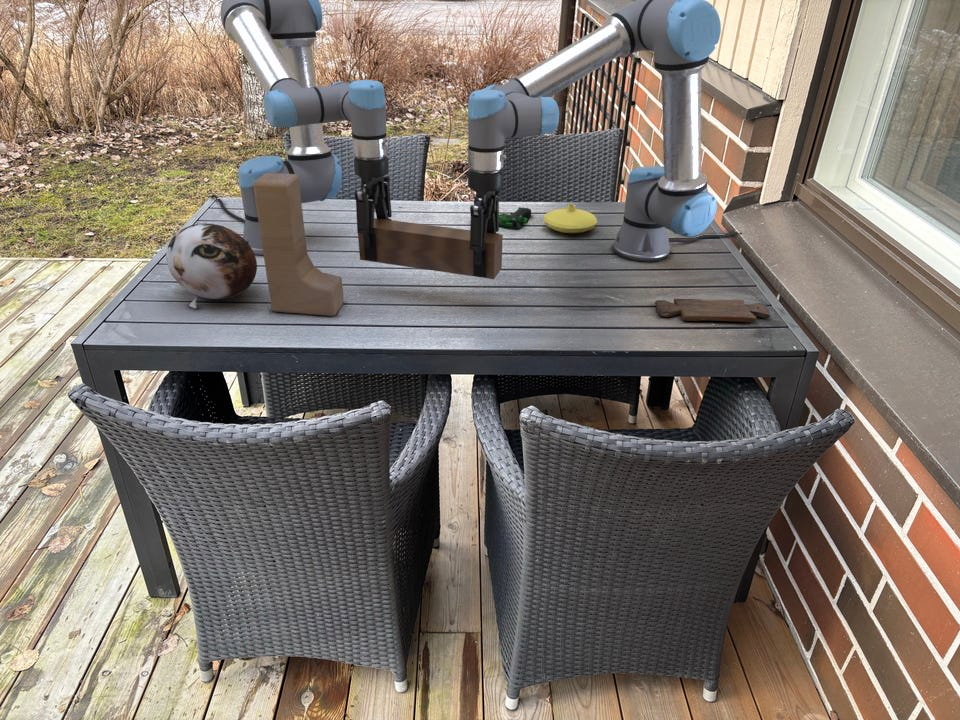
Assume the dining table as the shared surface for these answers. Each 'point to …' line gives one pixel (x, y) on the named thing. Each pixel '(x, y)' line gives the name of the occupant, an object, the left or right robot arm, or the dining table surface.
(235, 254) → the cat face balloon
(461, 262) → the bar
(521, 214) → the handgun
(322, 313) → the decorative block
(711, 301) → the wooden paddle board
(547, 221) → the yellow round domed disc
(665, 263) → the dining table surface
